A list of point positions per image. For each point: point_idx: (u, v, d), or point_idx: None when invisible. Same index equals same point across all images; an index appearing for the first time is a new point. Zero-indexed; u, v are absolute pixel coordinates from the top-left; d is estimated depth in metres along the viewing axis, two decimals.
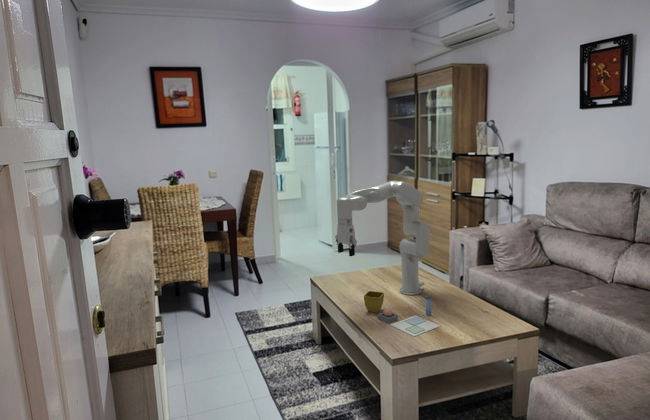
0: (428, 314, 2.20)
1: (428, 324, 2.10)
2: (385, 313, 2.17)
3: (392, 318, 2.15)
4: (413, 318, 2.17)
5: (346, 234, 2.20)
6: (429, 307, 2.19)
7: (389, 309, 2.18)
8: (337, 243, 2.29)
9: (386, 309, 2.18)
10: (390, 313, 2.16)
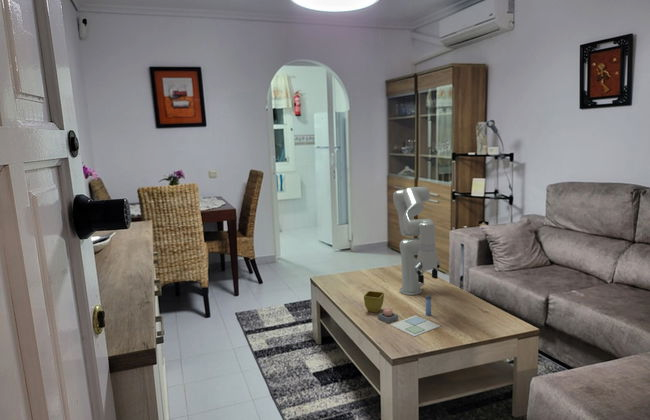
0: (428, 314, 2.20)
1: (428, 324, 2.10)
2: (385, 313, 2.17)
3: (392, 318, 2.15)
4: (413, 318, 2.17)
5: (436, 257, 2.17)
6: (429, 307, 2.19)
7: (389, 309, 2.18)
8: (421, 274, 2.14)
9: (386, 309, 2.18)
10: (390, 313, 2.16)
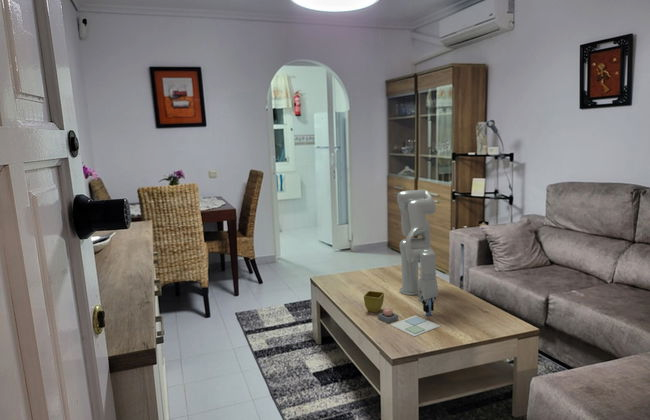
0: (428, 314, 2.20)
1: (428, 324, 2.10)
2: (385, 313, 2.17)
3: (392, 318, 2.15)
4: (413, 318, 2.17)
5: (436, 286, 2.19)
6: (429, 307, 2.19)
7: (389, 309, 2.18)
8: (426, 304, 2.18)
9: (386, 309, 2.18)
10: (390, 313, 2.16)
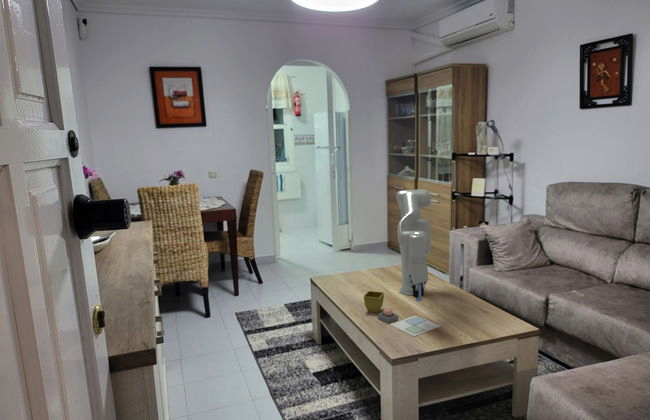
0: (418, 299, 2.11)
1: (428, 324, 2.10)
2: (385, 313, 2.17)
3: (392, 318, 2.15)
4: (413, 318, 2.17)
5: (426, 270, 2.11)
6: (419, 292, 2.11)
7: (389, 309, 2.18)
8: (415, 289, 2.09)
9: (386, 309, 2.18)
10: (390, 313, 2.16)
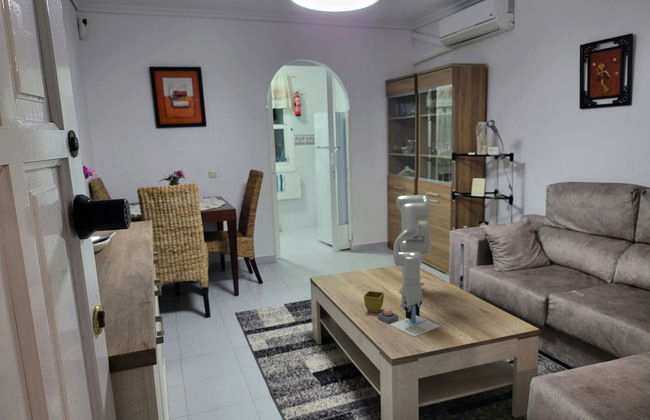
0: (412, 321, 2.11)
1: (428, 324, 2.10)
2: (385, 313, 2.17)
3: (392, 318, 2.15)
4: None
5: (420, 291, 2.10)
6: (413, 314, 2.11)
7: (389, 309, 2.18)
8: (408, 310, 2.08)
9: (386, 309, 2.18)
10: (390, 313, 2.16)
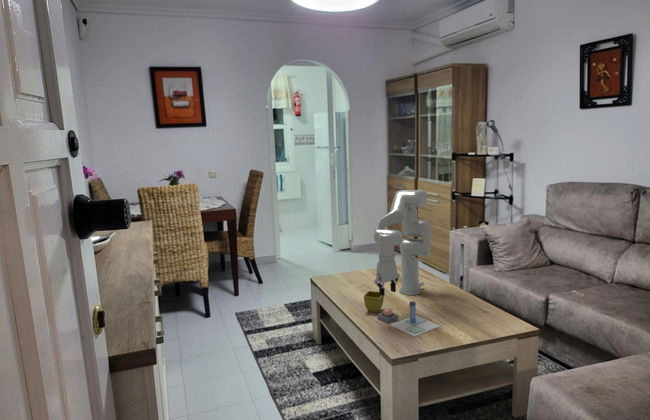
0: (412, 321, 2.11)
1: (428, 324, 2.10)
2: (385, 313, 2.17)
3: (392, 318, 2.15)
4: None
5: (395, 268, 2.15)
6: (413, 314, 2.11)
7: (389, 309, 2.18)
8: (381, 287, 2.12)
9: (386, 309, 2.18)
10: (390, 313, 2.16)
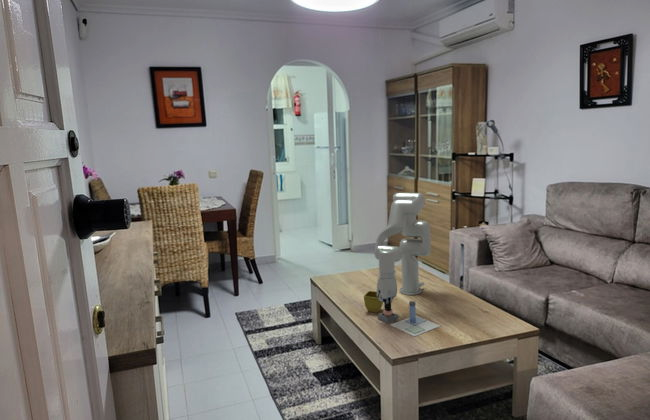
0: (412, 321, 2.11)
1: (428, 324, 2.10)
2: (385, 313, 2.17)
3: (392, 318, 2.15)
4: None
5: (395, 285, 2.16)
6: (413, 314, 2.11)
7: None
8: (386, 303, 2.15)
9: None
10: (390, 313, 2.16)
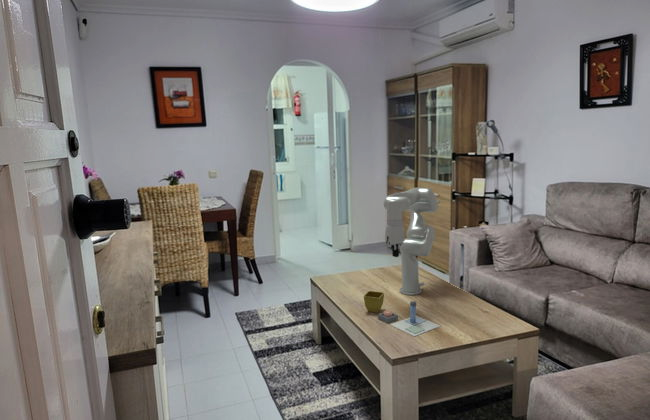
0: (412, 321, 2.11)
1: (428, 324, 2.10)
2: (385, 315, 2.17)
3: (392, 318, 2.15)
4: None
5: (403, 232, 2.30)
6: (413, 314, 2.11)
7: (389, 311, 2.18)
8: (394, 249, 2.29)
9: (386, 311, 2.18)
10: (390, 315, 2.16)
